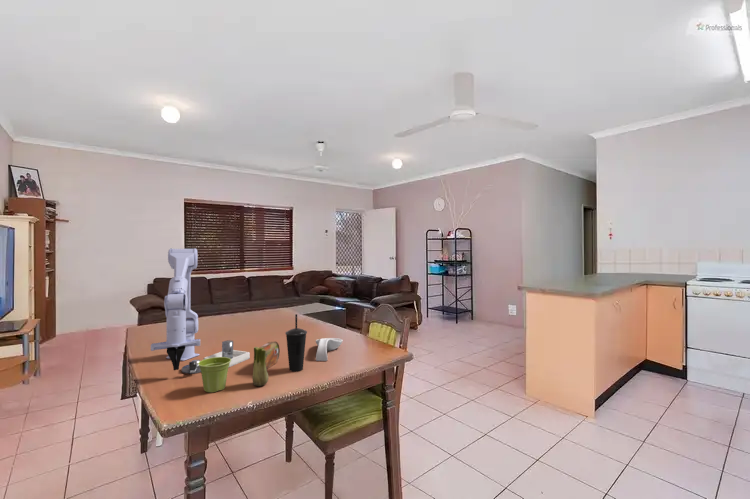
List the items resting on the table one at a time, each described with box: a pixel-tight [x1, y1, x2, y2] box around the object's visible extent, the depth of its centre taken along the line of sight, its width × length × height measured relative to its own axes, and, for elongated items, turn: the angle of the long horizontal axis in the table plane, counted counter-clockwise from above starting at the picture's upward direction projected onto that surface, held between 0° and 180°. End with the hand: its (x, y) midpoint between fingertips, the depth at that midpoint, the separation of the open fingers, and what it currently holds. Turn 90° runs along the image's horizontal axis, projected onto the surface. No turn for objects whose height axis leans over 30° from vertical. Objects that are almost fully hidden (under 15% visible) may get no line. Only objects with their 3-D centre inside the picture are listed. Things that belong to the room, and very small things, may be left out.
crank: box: [188, 359, 201, 373], centre depth 124 cm, size 10×3×4 cm, turn 19°
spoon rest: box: [315, 337, 343, 362], centre depth 148 cm, size 24×12×7 cm, turn 179°
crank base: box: [181, 364, 201, 375], centre depth 127 cm, size 9×9×1 cm
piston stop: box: [221, 339, 234, 359], centre depth 136 cm, size 4×4×7 cm
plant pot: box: [198, 357, 231, 393], centre depth 110 cm, size 9×9×9 cm
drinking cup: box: [284, 314, 308, 373], centre depth 127 cm, size 8×8×20 cm
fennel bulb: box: [252, 346, 269, 387], centre depth 113 cm, size 6×5×12 cm
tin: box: [258, 341, 281, 370], centre depth 131 cm, size 15×3×8 cm, turn 168°
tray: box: [202, 349, 251, 369], centre depth 136 cm, size 11×12×2 cm
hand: (176, 369), depth 119 cm, fingers closed
